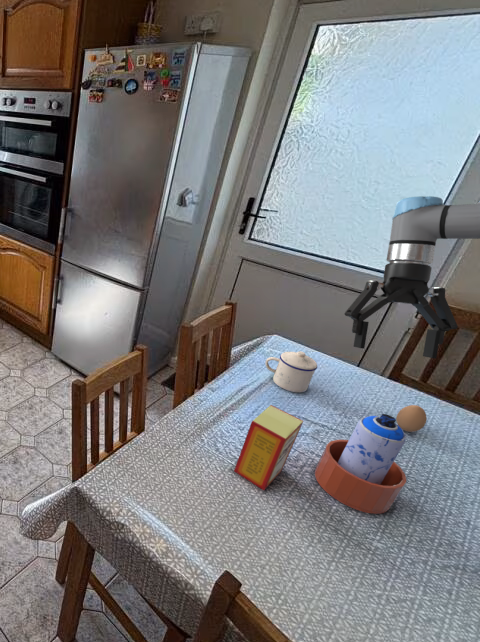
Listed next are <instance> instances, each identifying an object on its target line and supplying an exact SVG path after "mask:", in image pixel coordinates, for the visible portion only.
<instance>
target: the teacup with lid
mask: <svg viewBox="0 0 480 642" xmlns="http://www.w3.org/2000/svg"><path fill="white" fill-rule="evenodd" d="M270 361H275V362H277V363H278V364H277V365H276V369H275V368H272V367H271V366H270V365H269V362H270ZM264 362H265V367H266V369H267V370H268V371H269V372H271V373H274V374H273V377H272V380H273V383H274V384H276V385H277V386H278V387H279V388H281V389H283V390H285V391H288V392H292V393H298V394H299V393H305V392H306V391H308V388H309V386H310V383H311V381H312V379H313V376H314V374H315V371H316V370H317V369H318V363H317V362H316V361H315V360H314V358H312V357H310V356H308V355H307V354H306V352H304V351H301V350H299V351H284V352H282V353H281V354H280V355H279V358H278V357H274V356H270V357H267V358H266V360H265V361H264Z"/></svg>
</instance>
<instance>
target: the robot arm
mask: <svg viewBox="0 0 480 642" xmlns="http://www.w3.org/2000/svg"><path fill="white" fill-rule="evenodd" d="M443 201H444V200H443V198H441V197H438V196H431V195H429V196H428V195H427V196H422V195H421V196H409V197H405V198H401V199H400V200H399V201H397V202H396V204H395V209H394V213H393V216H392V223H391V228H390V229H391V230H390V238H389V243H388V248H387V254H386V262H388V263H386V264H385V265H384V272H383V281H382V282H379V280H367V281H366V282H365V285H364V288H363V290H362V292H361V293H360V294H358V296H357V297H356V298H355V299H354V301H353V302H352V304H351V305H350V306H349V307H348V308H347V309H346V310H345V312H344V315H345V317H348V318H350V319H351V320H353V322H352V328H351V332H352V334H354V339H353V347H355V348H358V349H365V347H366V341H367V335H368V329H369V321H366V320H367V319H368V318H369V317H371V316H372V315H374V314H375V313H376V312H378V311H379V310H380V309H382V308H383V307H385V306H386V305H388V304H390V303H401V304H407V305H409V304H410V305H412V306H413V307H415V308H416V310H417V311H418V312H419V314H420V315H421V316H422V317H423V318H424V319H425V321H426V322H427V324H428V325H429V326H430V327H431V329H430V328H427V329H426V334H425V342H424V347H423V353H422V357H425V358H430V359H435V360H436V359H437V357H438V350H439V345H441V346H442V345H443V343H444V340H445V339H444V338H445V333H446V332H449V331H450V330H457V329H458V327H459V326H458V324H457V321H456V318H455V317H454V315H453V312H452V310H451V308H450V305H449V302H448V300H447V298H446V288H445V287H441V286H440V287H435V286H434V287H429V285H428V283H429V281H430V279H431V273H432V267H431V265H430V264H433V263H434V257H435V251H436V244H437V240H441V239H443V240H447V239H448V240H449V239H450V240H452V239H453V240H454V239H456V240H457V239H458V240H462V239H463V240H465V239H466V240H480V200H479V201H478V202H476V203H467V204H448V205H447V204H444V202H443ZM379 290H381V291H382V293H381V294H380V295H378V296H377V297H376V299H374V300H373V301H372V302H371V303H369V304H368V302H369V301H370V300H371V299H372V298H373V297H374V295H375V294H376V293H377V291H379ZM426 295H427V296H429V297H430V301H431V303H432V306H433V308H434V309H433V308H432V307H431V305H430V302H429V301H428V299H426V297H425V296H426Z"/></svg>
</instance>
